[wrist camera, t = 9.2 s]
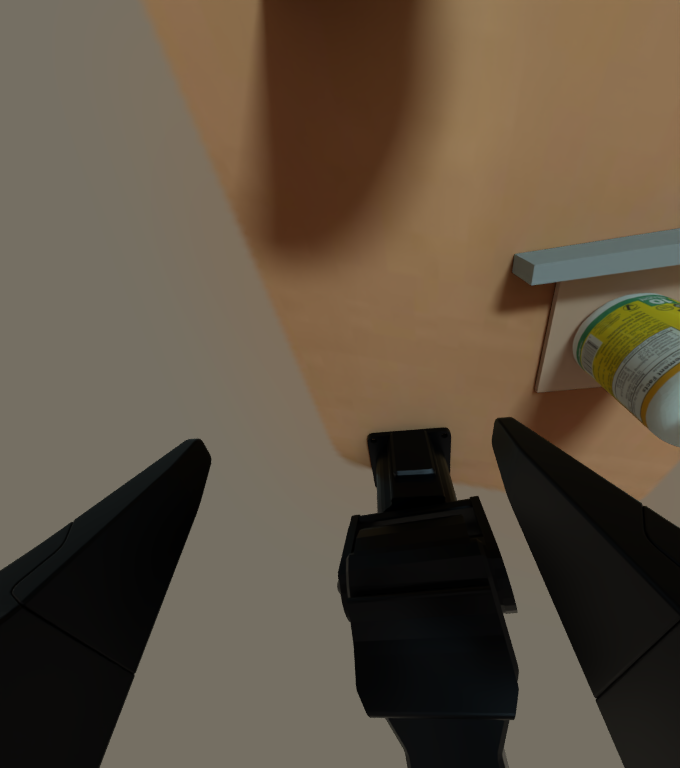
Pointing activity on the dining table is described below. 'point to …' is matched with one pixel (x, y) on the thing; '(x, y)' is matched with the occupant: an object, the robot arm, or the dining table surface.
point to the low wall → (599, 258)
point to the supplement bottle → (637, 358)
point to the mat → (577, 305)
